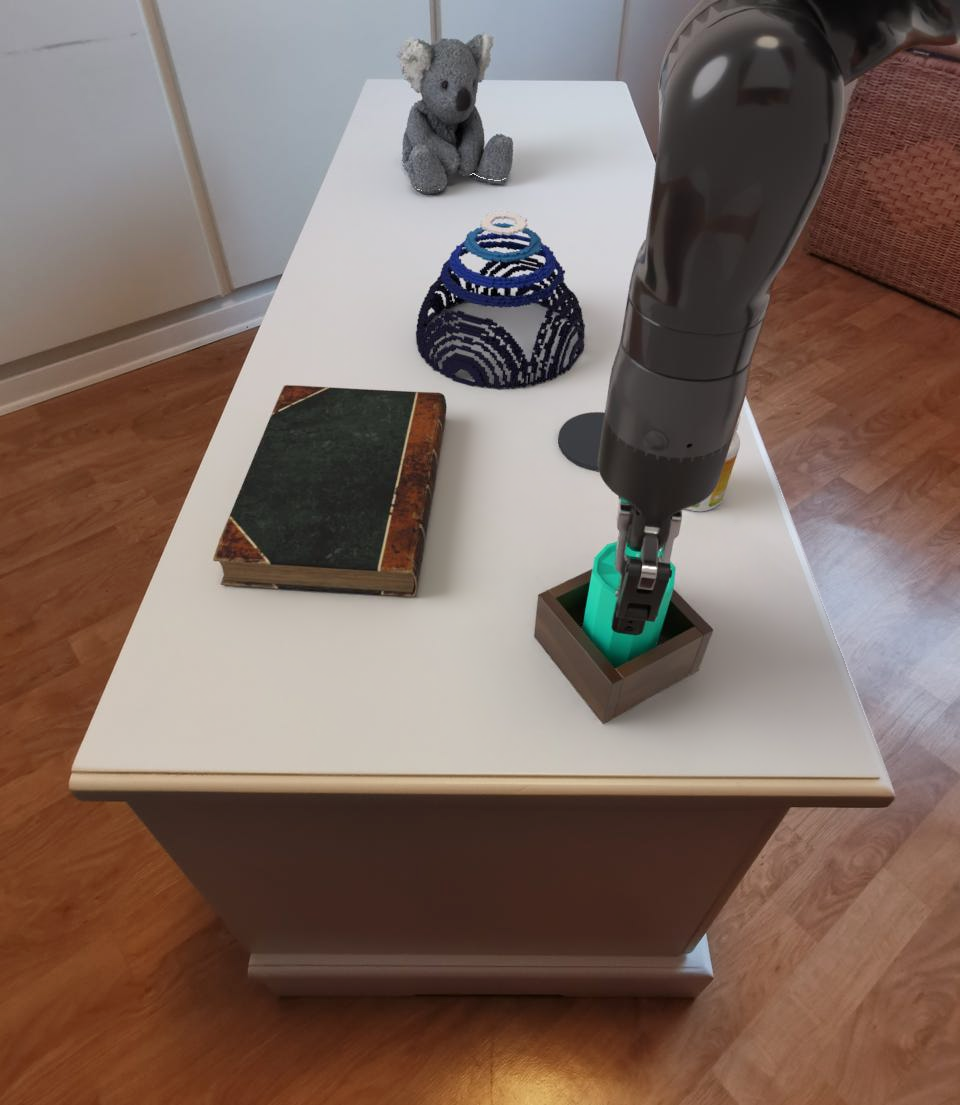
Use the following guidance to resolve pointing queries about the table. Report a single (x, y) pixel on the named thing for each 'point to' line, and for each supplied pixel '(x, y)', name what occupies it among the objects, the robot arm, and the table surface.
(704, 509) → the supplement bottle
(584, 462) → the coaster
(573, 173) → the table surface
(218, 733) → the table surface
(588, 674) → the square wooden box
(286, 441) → the book
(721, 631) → the table surface
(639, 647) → the candle
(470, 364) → the decorative bowl
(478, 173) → the koala plush
